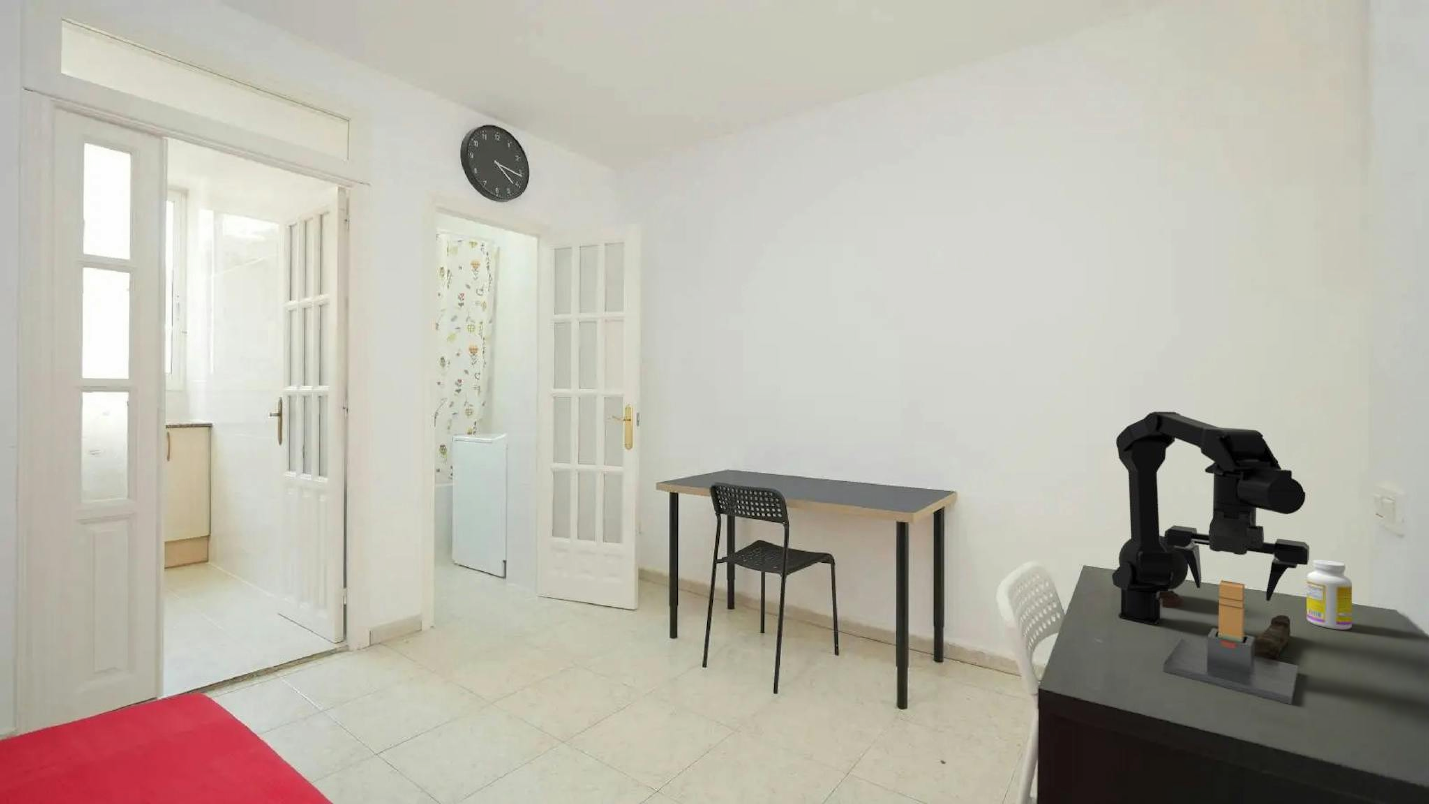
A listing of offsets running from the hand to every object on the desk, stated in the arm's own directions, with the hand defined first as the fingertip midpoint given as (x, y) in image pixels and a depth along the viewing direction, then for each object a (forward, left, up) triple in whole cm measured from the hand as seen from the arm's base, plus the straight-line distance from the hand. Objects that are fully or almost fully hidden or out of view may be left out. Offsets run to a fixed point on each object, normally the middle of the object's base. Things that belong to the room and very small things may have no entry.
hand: (1232, 593), depth 108 cm
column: (0, -2, -7) cm, 8 cm away
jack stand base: (0, -2, -13) cm, 13 cm away
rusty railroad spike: (+4, +18, -13) cm, 23 cm away
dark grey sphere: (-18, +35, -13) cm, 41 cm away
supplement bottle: (+11, +42, -13) cm, 45 cm away
